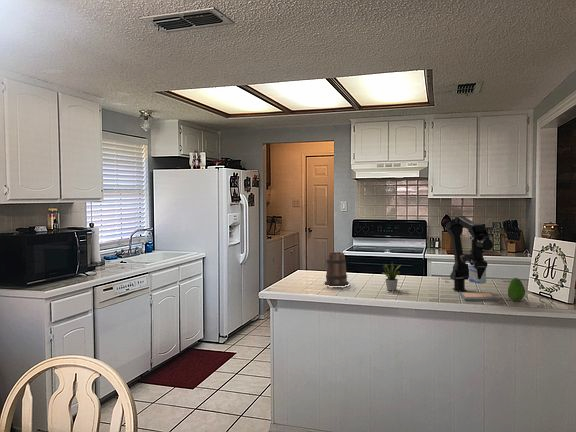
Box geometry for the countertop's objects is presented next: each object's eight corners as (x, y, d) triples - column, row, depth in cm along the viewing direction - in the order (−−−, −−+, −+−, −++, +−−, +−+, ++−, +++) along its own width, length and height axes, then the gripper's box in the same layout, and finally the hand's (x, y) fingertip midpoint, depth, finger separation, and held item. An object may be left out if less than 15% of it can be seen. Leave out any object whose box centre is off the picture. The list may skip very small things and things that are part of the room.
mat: (459, 294, 266) (459, 291, 266) (490, 294, 264) (490, 292, 264) (464, 300, 251) (464, 298, 251) (497, 301, 248) (497, 298, 248)
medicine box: (468, 281, 260) (468, 265, 259) (475, 280, 261) (475, 264, 261) (479, 284, 252) (479, 267, 252) (486, 283, 254) (486, 266, 254)
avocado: (508, 302, 244) (508, 278, 244) (507, 299, 252) (507, 276, 251) (526, 303, 241) (526, 279, 241) (524, 300, 249) (524, 276, 248)
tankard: (347, 288, 291) (346, 255, 290) (319, 287, 296) (319, 254, 295) (354, 281, 313) (354, 250, 312) (328, 280, 318) (328, 249, 317)
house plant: (374, 291, 279) (374, 263, 278) (379, 287, 292) (378, 260, 291) (400, 293, 274) (399, 264, 273) (403, 288, 287) (403, 260, 286)
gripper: (458, 246, 267) (458, 274, 267) (464, 250, 248) (464, 280, 249) (479, 245, 265) (479, 274, 265) (487, 250, 246) (487, 281, 247)
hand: (477, 277), depth 257 cm, fingers closed on medicine box, 9 cm apart
